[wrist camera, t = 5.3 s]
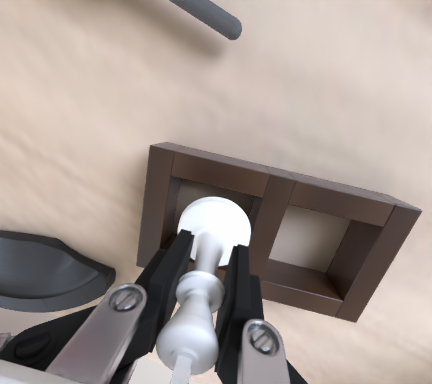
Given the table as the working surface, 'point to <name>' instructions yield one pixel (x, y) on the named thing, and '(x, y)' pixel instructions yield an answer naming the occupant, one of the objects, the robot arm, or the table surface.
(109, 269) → the curved wedge
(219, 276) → the rack
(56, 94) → the table surface
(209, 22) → the walkie-talkie
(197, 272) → the chess piece
